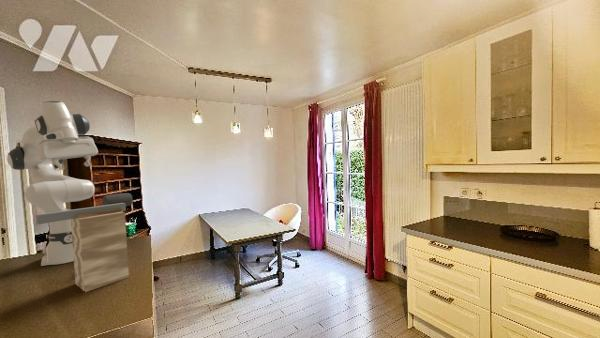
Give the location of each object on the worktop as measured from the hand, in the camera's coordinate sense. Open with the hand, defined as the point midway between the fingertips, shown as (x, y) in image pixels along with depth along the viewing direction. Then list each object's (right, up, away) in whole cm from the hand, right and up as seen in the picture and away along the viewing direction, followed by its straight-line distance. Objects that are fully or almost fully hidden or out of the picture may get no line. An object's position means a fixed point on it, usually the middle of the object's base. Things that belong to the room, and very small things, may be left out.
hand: (75, 167), depth 115 cm
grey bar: (+17, -18, -16) cm, 30 cm away
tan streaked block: (+21, -44, -12) cm, 50 cm away
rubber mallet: (+1, -44, +28) cm, 52 cm away
